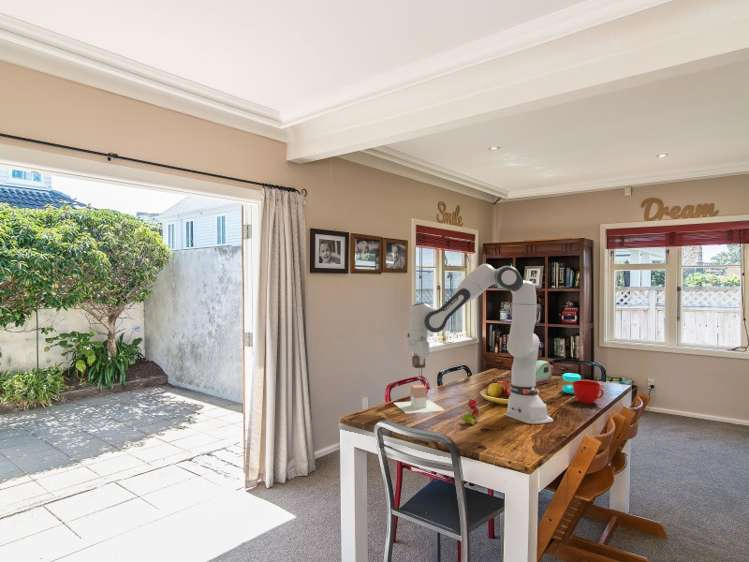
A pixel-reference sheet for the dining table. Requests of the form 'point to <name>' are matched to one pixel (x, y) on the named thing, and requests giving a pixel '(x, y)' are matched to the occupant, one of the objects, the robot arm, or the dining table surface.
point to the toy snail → (543, 372)
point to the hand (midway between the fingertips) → (418, 363)
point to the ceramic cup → (587, 391)
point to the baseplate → (409, 409)
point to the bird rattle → (472, 412)
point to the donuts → (570, 378)
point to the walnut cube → (417, 362)
